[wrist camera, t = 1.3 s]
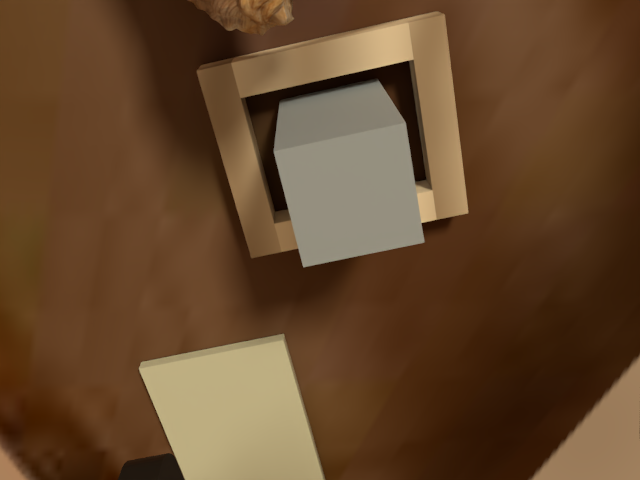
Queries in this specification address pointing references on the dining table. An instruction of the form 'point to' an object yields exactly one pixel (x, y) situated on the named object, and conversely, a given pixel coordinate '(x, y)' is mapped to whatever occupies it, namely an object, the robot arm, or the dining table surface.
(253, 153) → the pocket frame
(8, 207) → the dining table surface
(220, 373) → the tile
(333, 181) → the block
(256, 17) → the lion figurine
